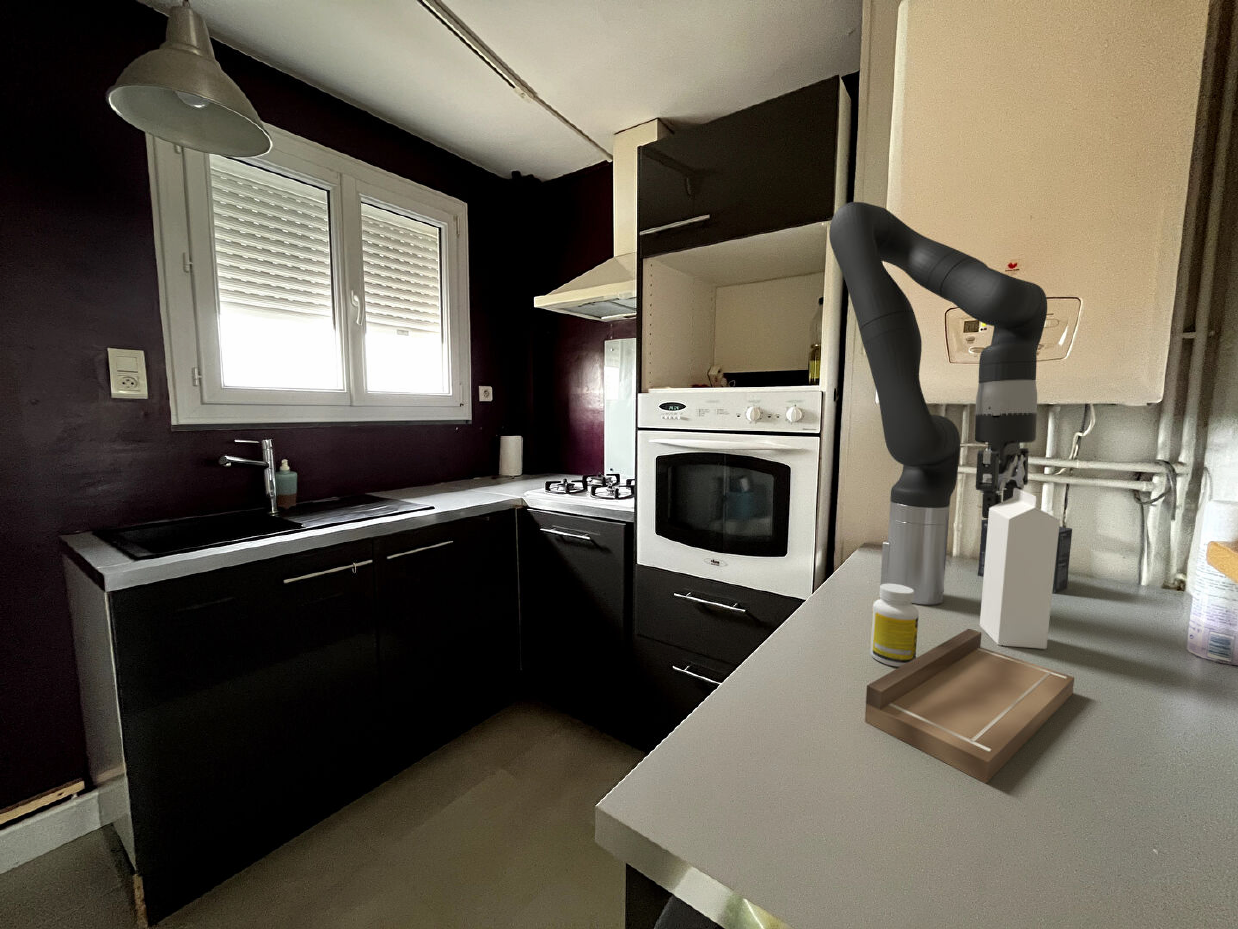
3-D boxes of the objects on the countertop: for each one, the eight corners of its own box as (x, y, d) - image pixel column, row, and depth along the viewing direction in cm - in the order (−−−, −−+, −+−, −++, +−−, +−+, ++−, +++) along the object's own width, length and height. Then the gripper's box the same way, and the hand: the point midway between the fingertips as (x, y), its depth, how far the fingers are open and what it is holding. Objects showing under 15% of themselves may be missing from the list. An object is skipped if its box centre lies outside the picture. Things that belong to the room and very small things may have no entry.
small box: (1068, 588, 97) (1074, 527, 96) (1055, 594, 94) (1061, 531, 93) (990, 570, 108) (994, 516, 107) (975, 575, 105) (980, 519, 104)
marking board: (864, 721, 53) (866, 685, 53) (966, 656, 68) (968, 628, 68) (986, 783, 44) (990, 741, 44) (1072, 693, 59) (1075, 661, 59)
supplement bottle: (922, 670, 64) (927, 596, 63) (876, 666, 65) (880, 593, 64) (906, 651, 69) (911, 583, 68) (864, 647, 70) (868, 580, 69)
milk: (997, 646, 72) (1010, 496, 68) (978, 625, 77) (989, 487, 74) (1048, 649, 70) (1063, 496, 66) (1024, 628, 76) (1037, 487, 72)
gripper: (993, 413, 84) (990, 508, 85) (958, 412, 76) (955, 517, 77) (1050, 411, 78) (1046, 514, 79) (1019, 409, 70) (1014, 524, 71)
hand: (1001, 515), depth 78 cm, fingers open, 8 cm apart
